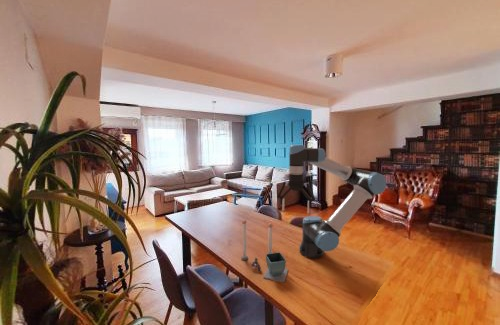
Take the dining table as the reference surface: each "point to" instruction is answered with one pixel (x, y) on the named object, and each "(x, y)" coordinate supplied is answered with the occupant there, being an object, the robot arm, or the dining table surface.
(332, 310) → the dining table surface
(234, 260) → the dining table surface
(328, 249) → the robot arm
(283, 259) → the flower pot
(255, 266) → the bent rail
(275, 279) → the tile
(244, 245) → the post
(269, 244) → the post
